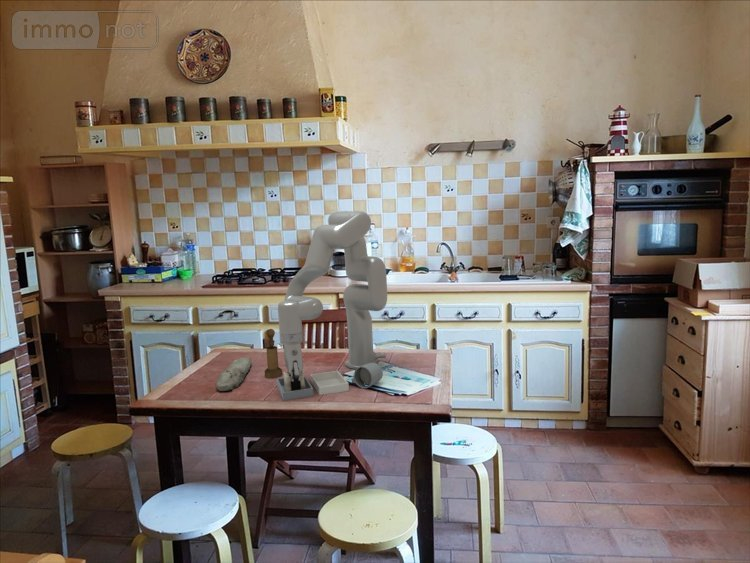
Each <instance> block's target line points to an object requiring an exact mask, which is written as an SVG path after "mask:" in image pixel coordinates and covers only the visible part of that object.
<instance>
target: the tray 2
mask: <svg viewBox="0 0 750 563" xmlns="http://www.w3.org/2000/svg"><path fill="white" fill-rule="evenodd" d="M310 384H312V387H313V388H314V389H315V391H317V393H318V395H319V396H323V395H330V394H336V393H344V392H349V391H350V387H349V386H350V385H349V384H350V383H349V382H348V381H347V380H346V379H345V377H344V376H343V374H341V372H340V371H339V370H332V371H325V372H316V373H310Z"/></svg>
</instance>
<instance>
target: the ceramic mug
mask: <svg viewBox="0 0 750 563" xmlns="http://www.w3.org/2000/svg"><path fill="white" fill-rule="evenodd" d="M383 373H384V372H383V368H382V367H381V366H380V365H379V363H378V364H376V363H368V364H366V365H363V366H360V367H358V368H357V369H354V372H353V378H351V379H350V380H351V383H352V384H355V383H356V385H357V386H358V387H359V388H362V389H368V388H370V387H372V386H373V384H374V385H375V384H378V382H380V381H381V380H382V378H383V375H384V374H383ZM364 383H365V384H367V385H369V386H365V385H364Z"/></svg>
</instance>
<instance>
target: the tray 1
mask: <svg viewBox="0 0 750 563" xmlns="http://www.w3.org/2000/svg"><path fill="white" fill-rule="evenodd" d="M275 379H276V387H277V389H278V392H279V394H280V396H281V398H282V401H289V400H296V399H303V398H309V397H314V394H315V392H314V386H313V385H311V384H312V383H311V381H309V380H308V378H307V376H306V375H305V374H304V382H305V389H302V390H295V391H288V392H286V391H285V388H284V377H282V378H281V377H278V378H275Z"/></svg>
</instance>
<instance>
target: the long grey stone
mask: <svg viewBox="0 0 750 563" xmlns="http://www.w3.org/2000/svg"><path fill="white" fill-rule="evenodd" d="M252 363H253V362H252V358H250V357H248V356H247V357H246V356H244V357H240V358H238V359H235V360H232V362H231V363H230V364H229V365H228V366H227V368H226V369H225V370H224V371H221V372H220V374H218V377H217V379H216V385H215V386H216V389H217V390H218V391H219V392H227V391H232V390H235V389H236V388H238V387H239V385H240V384H242V382H243V381H244V379H245V378H246V375H247V373H249V370H250V369H251V366H252V365H253V364H252Z"/></svg>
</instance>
